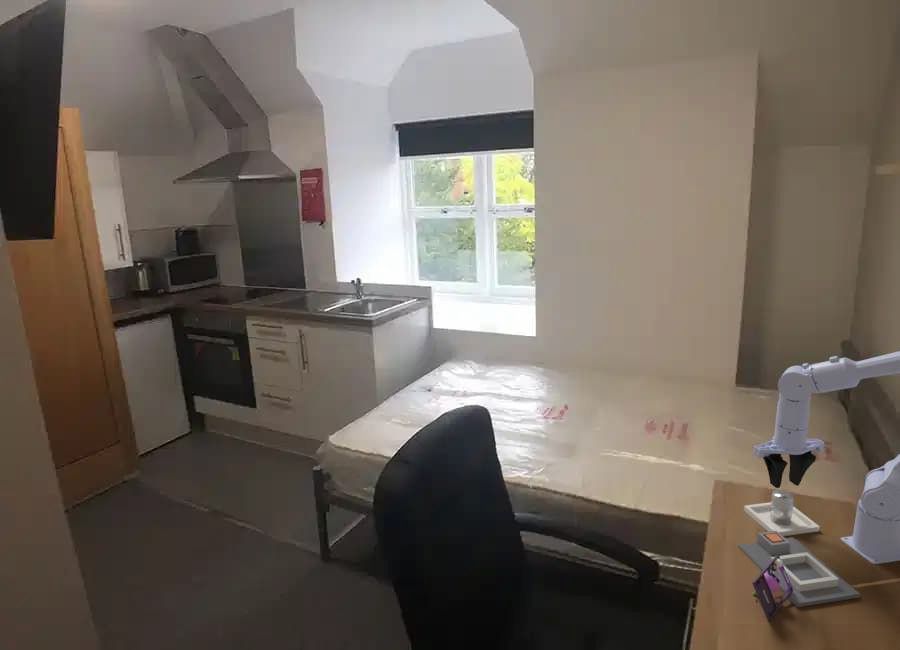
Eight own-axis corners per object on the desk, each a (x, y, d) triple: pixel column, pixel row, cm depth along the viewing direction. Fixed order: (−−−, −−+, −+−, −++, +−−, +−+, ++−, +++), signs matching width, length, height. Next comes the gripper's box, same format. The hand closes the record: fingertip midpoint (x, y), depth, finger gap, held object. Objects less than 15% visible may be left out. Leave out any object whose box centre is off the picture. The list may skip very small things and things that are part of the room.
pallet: (792, 540, 117) (794, 527, 116) (859, 597, 101) (861, 583, 100) (737, 548, 115) (739, 535, 115) (797, 607, 100) (798, 592, 99)
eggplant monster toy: (758, 583, 97) (782, 555, 102) (729, 579, 101) (754, 552, 106) (773, 621, 96) (797, 591, 101) (744, 615, 101) (769, 586, 106)
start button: (774, 541, 115) (775, 533, 115) (782, 548, 113) (783, 540, 112) (764, 542, 115) (765, 534, 114) (771, 549, 113) (772, 541, 112)
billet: (782, 513, 125) (785, 488, 124) (795, 524, 122) (798, 499, 120) (765, 515, 125) (768, 491, 123) (778, 526, 121) (781, 501, 119)
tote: (784, 505, 129) (785, 500, 128) (818, 532, 119) (819, 526, 119) (743, 511, 127) (744, 505, 127) (774, 538, 118) (775, 532, 117)
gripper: (809, 413, 122) (802, 471, 126) (746, 420, 120) (740, 478, 124) (835, 427, 115) (827, 487, 119) (769, 434, 114) (762, 496, 117)
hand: (784, 484), depth 121 cm, fingers open, 4 cm apart
